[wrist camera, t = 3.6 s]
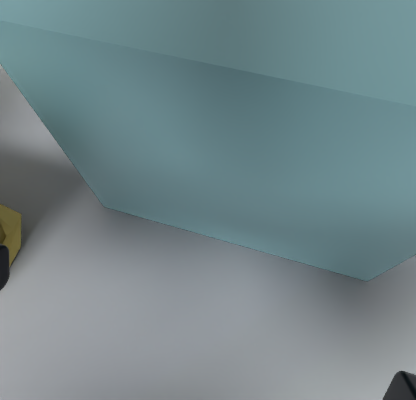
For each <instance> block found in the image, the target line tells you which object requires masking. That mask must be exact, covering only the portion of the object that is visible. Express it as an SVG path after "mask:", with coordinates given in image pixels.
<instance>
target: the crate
mask: <svg viewBox="0 0 416 400" xmlns="http://www.w3.org/2000/svg"><path fill="white" fill-rule="evenodd" d="M0 64H1V65H2V67H3V68H4V69H5V71H6V72H7V74H8V75H9V76H10V78H11V79H12V80H13V82H14V83H15V85H16V86H17V87H18V89H19V90H20V91H21V93H22V94H23V96H24V97H25V98H26V100H27V101H28V103H29V104H30V105H31V107H32V108H33V109H34V111H35V112H36V114H37V115H38V116H39V118H40V119H41V121H42V122H43V123H44V125H45V126H46V127H47V129H48V130H49V132H50V133H51V134H52V136H53V137H54V139H55V140H56V141H57V143H58V144H59V145H60V147H61V148H62V150H63V151H64V152H65V154H66V155H67V156H68V158H69V159H70V161H71V162H72V163H73V165H74V166H75V168H76V169H77V170H78V172H79V173H80V174H81V176H82V177H83V179H84V180H85V181H86V183H87V184H88V186H89V187H90V188H91V190H92V191H93V192H94V194H95V195H96V197H97V198H98V199H99V201H100V202H101V204H102V205H103V206H104V207H106V208H110V209H113V210H117V211H120V212H124V213H127V214H131V215H134V216H138V217H141V218H145V219H148V220H152V221H155V222H159V223H163V224H166V225H170V226H173V227H177V228H180V229H184V230H187V231H191V232H194V233H198V234H201V235H205V236H208V237H212V238H216V239H219V240H223V241H226V242H230V243H233V244H237V245H240V246H244V247H247V248H251V249H254V250H258V251H261V252H265V253H269V254H272V255H276V256H279V257H283V258H286V259H290V260H293V261H297V262H300V263H304V264H307V265H311V266H314V267H318V268H322V269H325V270H329V271H332V272H336V273H339V274H343V275H346V276H350V277H353V278H357V279H360V280H364V281H369V280H371V279H373V278H375V277H376V276H378V275H380V274H382V273H384V272H385V271H387V270H389V269H391V268H393V267H394V266H396V265H398V264H400V263H402V262H403V261H405V260H407V259H409V258H411V257H412V256H414V255H416V0H0Z"/></svg>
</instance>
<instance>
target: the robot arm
mask: <svg viewBox="0 0 416 400" xmlns="http://www.w3.org/2000/svg"><path fill="white" fill-rule="evenodd" d="M9 275H10V267H9V249H8V247H7V246H5V245H3V244H0V290H1V289H2V288H3V287H4V286H5V285H6V283H7V281H8V279H9ZM383 400H416V375H414V374H411V373H408V372H405V371H399V372H397V373H396V374H395V376H394V378H393V380H392V382H391V384H390V386H389V388H388V389H387V391H386V393H385V395H384V397H383Z"/></svg>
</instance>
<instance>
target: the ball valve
mask: <svg viewBox="0 0 416 400" xmlns="http://www.w3.org/2000/svg"><path fill="white" fill-rule="evenodd" d="M0 244H3V245H5V246H7V247H8V249H9V267H10V265H11V263H12V262H13V260H14V258H15V256H16V255H17V253H18V251H19V249H20V247H21V214H20V213H18V212H16V211H14V210H12V209H10V208H8V207H6V206H4V205H1V204H0Z"/></svg>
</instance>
